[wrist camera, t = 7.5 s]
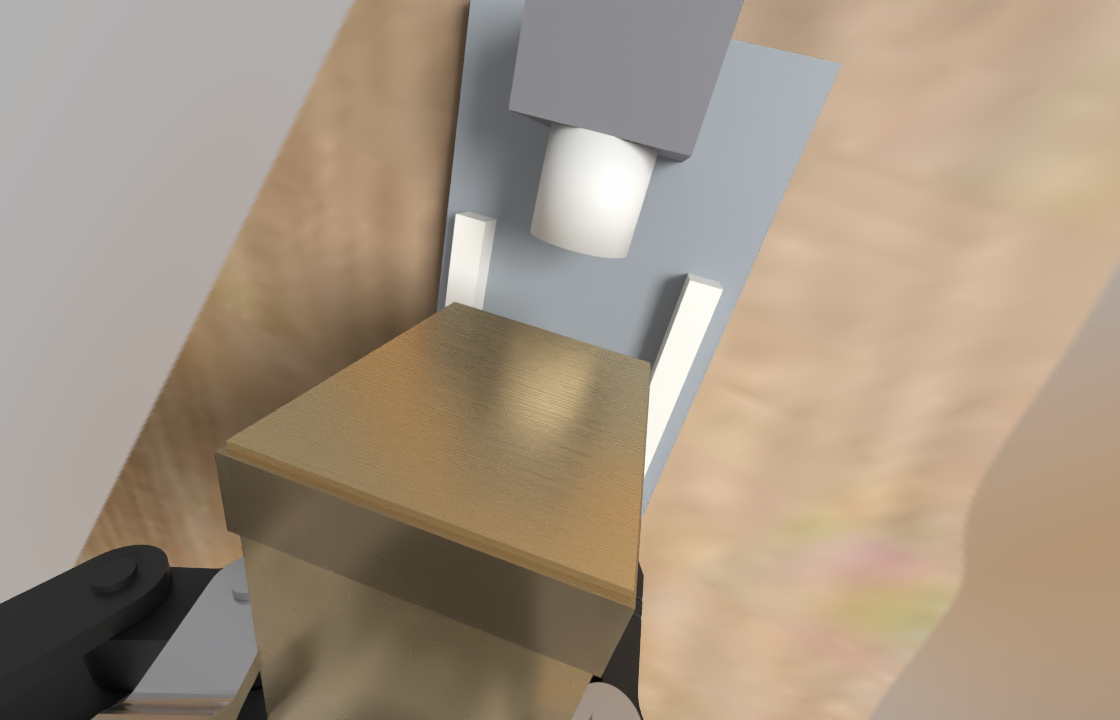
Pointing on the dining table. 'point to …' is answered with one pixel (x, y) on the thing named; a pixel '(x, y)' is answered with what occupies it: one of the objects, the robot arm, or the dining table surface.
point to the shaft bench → (669, 211)
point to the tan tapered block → (444, 525)
